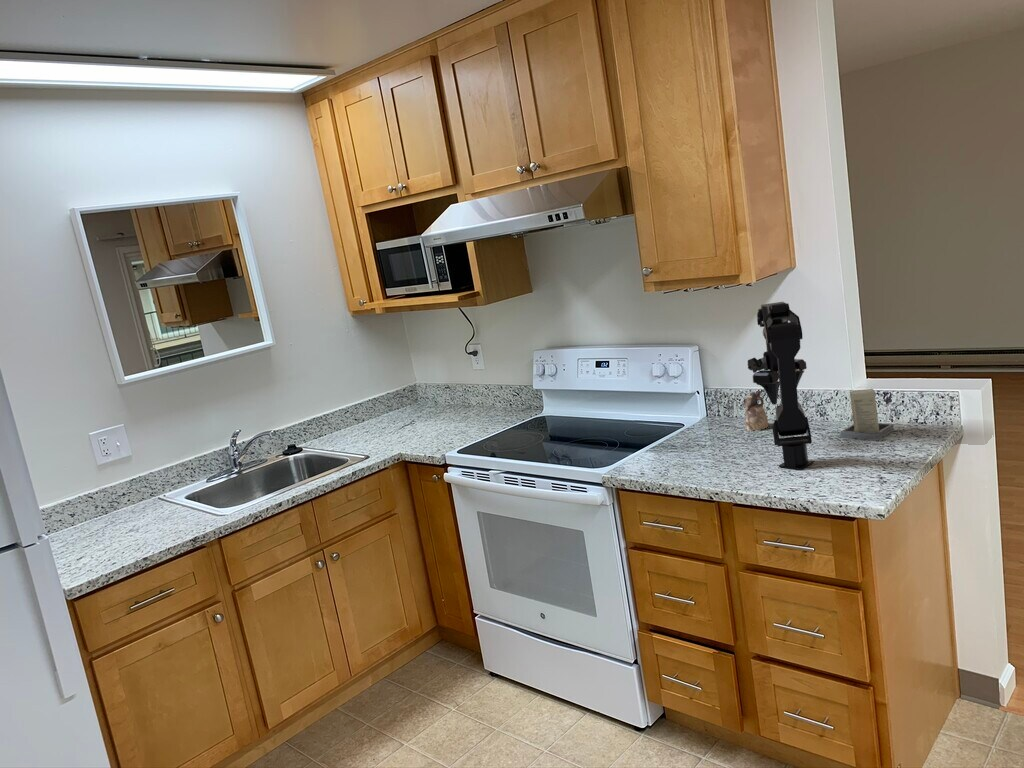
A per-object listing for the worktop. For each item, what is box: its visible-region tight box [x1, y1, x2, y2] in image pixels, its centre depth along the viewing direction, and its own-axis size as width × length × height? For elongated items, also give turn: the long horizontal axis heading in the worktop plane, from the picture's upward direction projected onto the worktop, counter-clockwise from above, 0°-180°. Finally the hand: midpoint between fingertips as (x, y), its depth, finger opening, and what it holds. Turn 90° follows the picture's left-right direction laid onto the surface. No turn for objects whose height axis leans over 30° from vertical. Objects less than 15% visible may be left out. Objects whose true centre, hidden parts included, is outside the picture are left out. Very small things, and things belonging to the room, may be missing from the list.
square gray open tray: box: [840, 422, 895, 441], centre depth 217 cm, size 10×10×2 cm
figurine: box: [743, 390, 769, 432], centre depth 241 cm, size 7×7×12 cm
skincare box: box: [849, 388, 879, 433], centre depth 216 cm, size 6×4×12 cm
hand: (783, 400), depth 219 cm, fingers open, 9 cm apart
